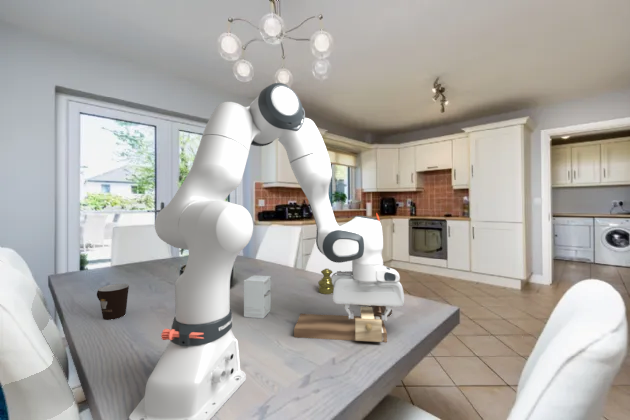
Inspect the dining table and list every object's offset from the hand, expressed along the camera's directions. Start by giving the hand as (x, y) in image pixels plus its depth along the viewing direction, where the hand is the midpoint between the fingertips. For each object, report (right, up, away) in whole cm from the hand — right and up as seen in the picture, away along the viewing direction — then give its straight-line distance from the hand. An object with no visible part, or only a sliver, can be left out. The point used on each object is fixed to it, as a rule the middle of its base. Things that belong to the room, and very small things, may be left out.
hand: (367, 319), depth 81 cm
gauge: (0, -4, -1) cm, 4 cm away
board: (-8, -5, +3) cm, 9 cm away
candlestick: (+7, -4, +17) cm, 19 cm away
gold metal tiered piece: (-10, -4, +40) cm, 42 cm away
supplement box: (-35, -5, +16) cm, 39 cm away
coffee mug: (-86, -5, +16) cm, 87 cm away
